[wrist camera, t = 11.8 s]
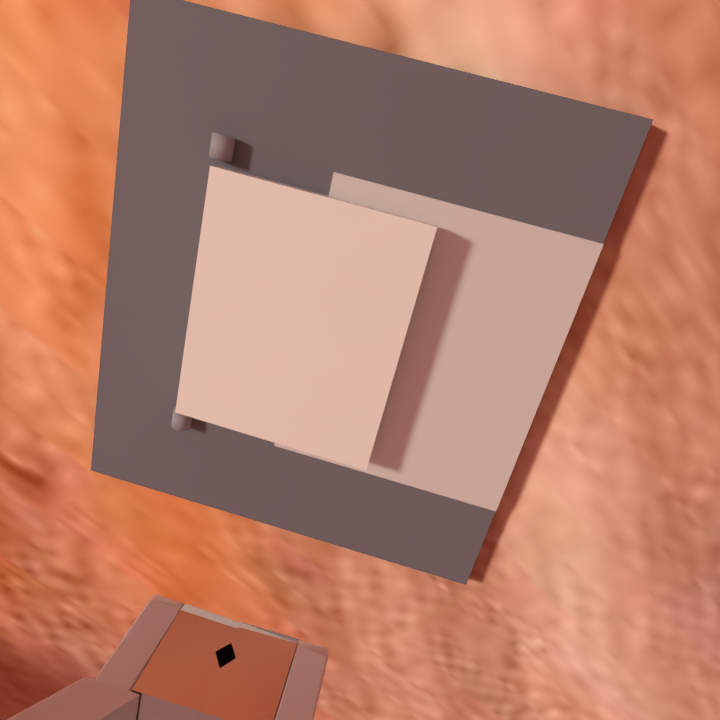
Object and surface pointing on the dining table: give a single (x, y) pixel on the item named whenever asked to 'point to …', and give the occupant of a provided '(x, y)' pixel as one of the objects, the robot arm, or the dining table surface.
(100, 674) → the robot arm
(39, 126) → the dining table surface
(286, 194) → the tile
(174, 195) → the board
